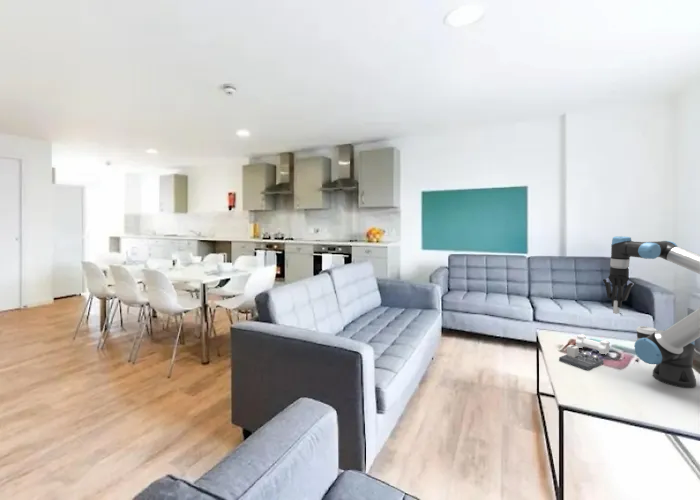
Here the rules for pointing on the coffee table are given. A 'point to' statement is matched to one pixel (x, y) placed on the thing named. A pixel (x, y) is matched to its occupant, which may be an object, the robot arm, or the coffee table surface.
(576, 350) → the block
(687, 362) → the robot arm
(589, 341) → the bone shaped toy
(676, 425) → the coffee table surface
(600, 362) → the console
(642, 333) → the coffee cup
